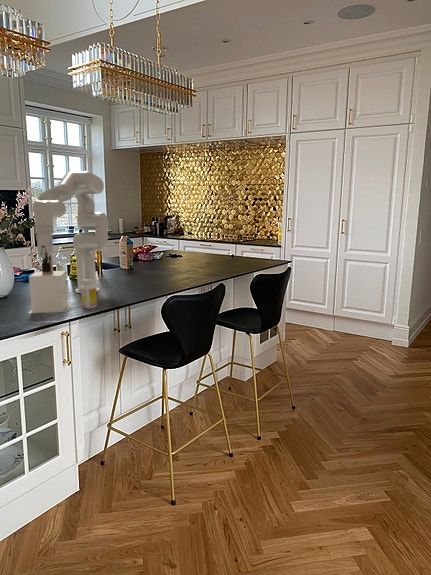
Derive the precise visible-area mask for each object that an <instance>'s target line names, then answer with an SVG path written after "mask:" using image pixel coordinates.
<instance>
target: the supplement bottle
mask: <svg viewBox="0 0 431 575" xmlns="http://www.w3.org/2000/svg"><path fill="white" fill-rule="evenodd" d="M96 287H97V285H96V286H95V285H93V279H84V280H83V285H82V286H81V293H80V294H81V306H82V308H85V309H90V308H91V309H93V308H96V307H97V306H98V301H97V298H98V297H97V292H96Z"/></svg>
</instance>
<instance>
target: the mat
mask: <svg viewBox="0 0 431 575" xmlns="http://www.w3.org/2000/svg"><path fill="white" fill-rule="evenodd" d="M71 305H72V303H69V302H68V305H67V307H66V308H65V310H64V311H56V312H55V313H66V312H67V311H68V310H69V308H70V307H71ZM48 313H49V314H50V313H53V314H54V312H32V309H30V310H29V311H28V314H29V315H30V314H48Z"/></svg>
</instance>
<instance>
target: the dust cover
mask: <svg viewBox="0 0 431 575" xmlns="http://www.w3.org/2000/svg"><path fill="white" fill-rule="evenodd" d="M40 263H41V264H42V260H41V261H40ZM49 263H50V270H51V271H50V272H43V268H42V267H41V271H39V270H38V271H35V272H33V273H32V274H31V275H28V282H29V283H28V284H29V292H30V303H31V306H30V307H31V310H32V312H53V313H57V312H56V311H64V310H65V308H66V307H67V305H68V304H69V298H68V296H69V294H68V284H67V283H68V282H67V270H54V264H53V263H54V260H53V259H52V260H49Z"/></svg>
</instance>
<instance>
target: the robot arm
mask: <svg viewBox="0 0 431 575" xmlns="http://www.w3.org/2000/svg"><path fill="white" fill-rule="evenodd" d="M104 187H105V186H104V181H103V180H102V178H101V177H99V176H98V175H97V174H95V173H93V172H91V171H87V170H84V171H83V170H82V171H81V170H80V171H78V170H74V171H73V170H72V171H68V172H66V173H65V174H64V175H63V177H62V178H61V179H60V180H59V182H58V184H56V185H55V186H53V187H51V188H49V189H46V190H45V191H43V192H41V193H40V194H39V195H38V196H37V197H36V198H35V200H34V201H33V203H32V207H31V208H32V213H33V217H34V228H35V234H37V236H36V242H37V245H36V246H37V248H36V249H37V256H39V257H41V261H42V263H41V269H42V268H43V272H50V271H51V270H50V263H49V260H53V259H52V254H53V253H54V244H53V234H54V232H55V230H54V229H55V227H54V218H61V217H63V216H65V214H66V212H67V208H66V205H65V203H64V202H67V201H69V200H71V199H72V198H73V196H74V197H75V198H76V201H77V221H76V222H77V223H76V224H77V225H76V226H77V227H78V229H80V230H83V231H96V232H77V233H75V235H74V236H73V238H72V241H73V242H72V243H73V248H74V251H75V258H76V259H75V260H76V275H77V278H76V279H77V288H76V289H74V292H75V293H77V294H81V286H82V285H83V280H84V279H93V285H95V286H96V293H97V292H99V291H100V287H97V277H96V273H97V272H96V259H95V256H94V254H93V253H92V252H95V251H97V252H102V251H105V250H106V248H107V246H108V237H109V236H108V234H109V221H108V220H109V219H108V216H107V215H106V213H104V212H101V211H95V204H96V203H95V201H94V199H93V198H92V196H91V195H99V194H101V193H102V192H103V191H104Z"/></svg>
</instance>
